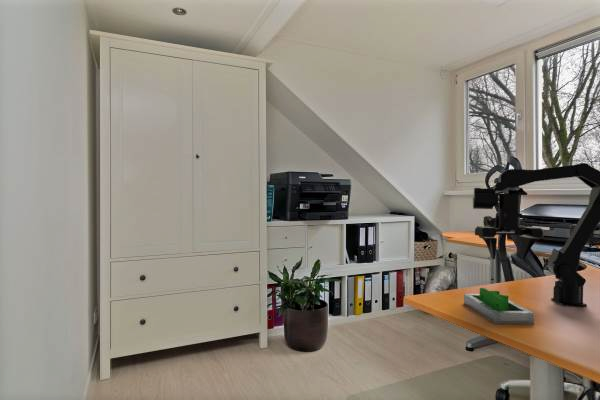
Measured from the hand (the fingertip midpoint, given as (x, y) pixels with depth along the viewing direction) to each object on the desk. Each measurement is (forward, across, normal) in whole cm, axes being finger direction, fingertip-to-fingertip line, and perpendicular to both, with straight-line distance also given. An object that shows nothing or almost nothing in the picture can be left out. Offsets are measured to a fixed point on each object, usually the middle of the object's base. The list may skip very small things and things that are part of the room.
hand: (507, 259), depth 116 cm
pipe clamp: (+11, +11, +15) cm, 22 cm away
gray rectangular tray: (+12, +12, +15) cm, 22 cm away
